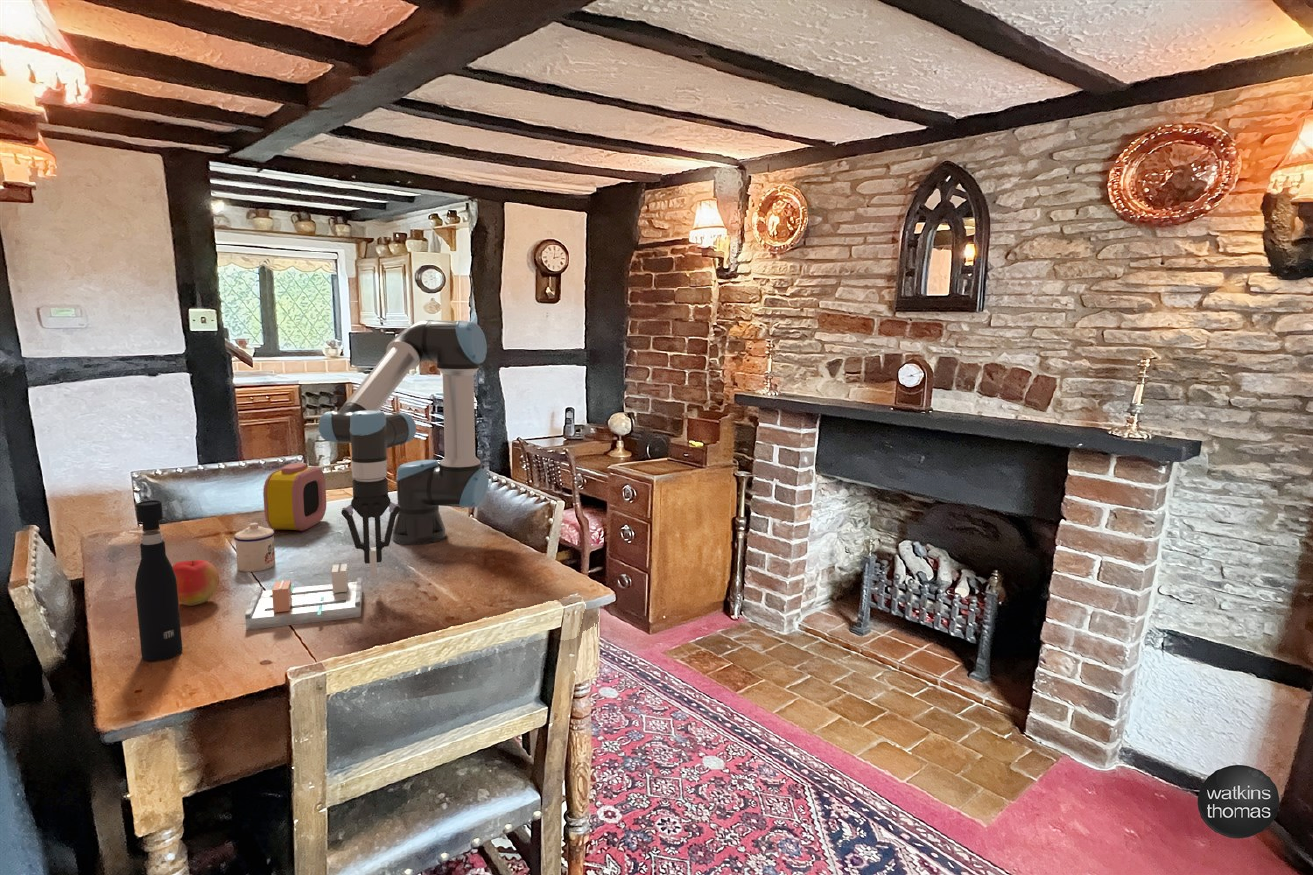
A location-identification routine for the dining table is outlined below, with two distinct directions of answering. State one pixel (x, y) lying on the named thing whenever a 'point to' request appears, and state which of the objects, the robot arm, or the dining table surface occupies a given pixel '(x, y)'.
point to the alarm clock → (294, 497)
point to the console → (305, 606)
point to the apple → (195, 581)
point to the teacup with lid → (255, 548)
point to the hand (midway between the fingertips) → (373, 575)
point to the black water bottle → (156, 590)
